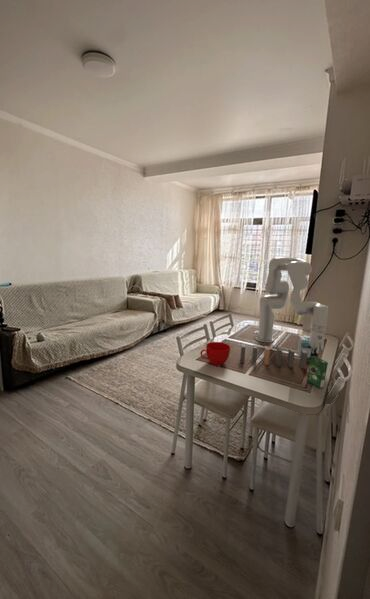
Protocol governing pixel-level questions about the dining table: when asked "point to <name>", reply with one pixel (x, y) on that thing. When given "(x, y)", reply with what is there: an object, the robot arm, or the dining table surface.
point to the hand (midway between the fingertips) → (313, 359)
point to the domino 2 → (254, 354)
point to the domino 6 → (303, 359)
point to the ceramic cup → (217, 353)
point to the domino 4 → (278, 356)
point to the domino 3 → (266, 355)
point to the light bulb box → (304, 345)
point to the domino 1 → (242, 353)
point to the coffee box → (317, 371)
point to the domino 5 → (290, 357)
